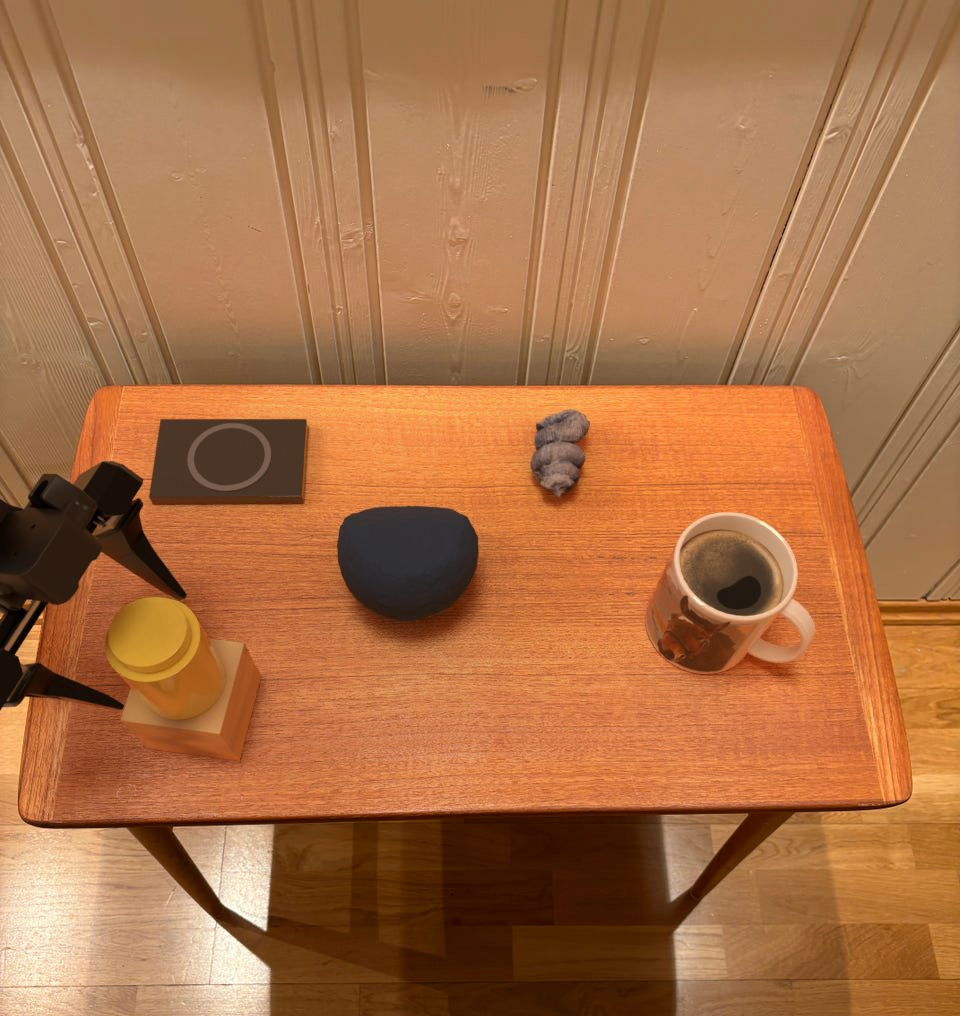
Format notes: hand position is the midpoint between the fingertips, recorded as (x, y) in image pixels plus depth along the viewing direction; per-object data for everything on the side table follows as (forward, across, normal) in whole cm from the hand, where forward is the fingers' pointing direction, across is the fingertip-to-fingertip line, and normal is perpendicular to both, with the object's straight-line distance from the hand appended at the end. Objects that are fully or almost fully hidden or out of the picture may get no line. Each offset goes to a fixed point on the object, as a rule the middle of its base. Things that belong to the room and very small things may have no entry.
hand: (153, 651), depth 62 cm
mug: (+36, +22, -19) cm, 47 cm away
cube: (+9, 0, +8) cm, 12 cm away
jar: (+4, 0, +3) cm, 5 cm away
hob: (+2, +23, +14) cm, 27 cm away
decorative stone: (+17, +17, 0) cm, 25 cm away
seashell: (+24, +34, -6) cm, 42 cm away
